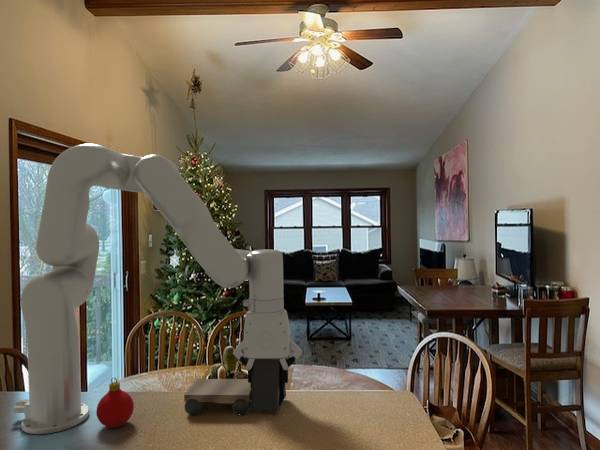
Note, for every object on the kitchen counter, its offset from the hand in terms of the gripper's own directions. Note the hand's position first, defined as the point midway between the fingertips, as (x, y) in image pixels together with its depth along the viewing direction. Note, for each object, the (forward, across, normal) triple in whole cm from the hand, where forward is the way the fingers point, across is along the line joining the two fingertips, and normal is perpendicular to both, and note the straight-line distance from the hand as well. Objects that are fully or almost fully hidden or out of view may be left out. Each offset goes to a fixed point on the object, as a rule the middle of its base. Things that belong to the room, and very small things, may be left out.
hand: (268, 384), depth 97 cm
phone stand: (+4, 0, 0) cm, 4 cm away
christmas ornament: (+5, -31, -9) cm, 32 cm away
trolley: (+5, -11, 0) cm, 12 cm away
